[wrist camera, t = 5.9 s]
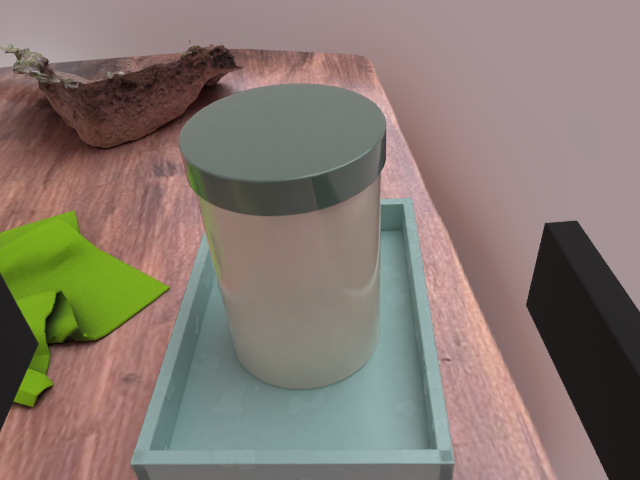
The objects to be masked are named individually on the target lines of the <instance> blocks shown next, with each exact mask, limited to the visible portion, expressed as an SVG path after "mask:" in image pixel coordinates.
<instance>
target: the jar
mask: <svg viewBox="0 0 640 480" xmlns="http://www.w3.org/2000/svg"><path fill="white" fill-rule="evenodd" d="M179 148H180V152H181V156H182V161H183V165H184V169H185V173H186V177H187V181H188V183H189V185H190V187H191V188H192V189H193V190H194V191H195V193H196V196H197V200H198V204H199V208H200V212H201V216H202V221H203V225H204V229H205V233H206V237H207V241H208V245H209V250H210V254H211V258H212V262H213V266H214V270H215V275H216V279H217V283H218V287H219V291H220V295H221V300H222V304H223V308H224V312H225V316H226V320H227V324H228V329H229V333H230V337H231V341H232V345H233V349H234V352H235V355H236V357H237V359H238V360H239V362H240V363H241V365H242V366H243V367H244V368H245V369H246V370H247V371H248V372H249V373H251V374H252V375H253V376H254V377H256V378H258V379H260V380H261V381H263V382H266V383H268V384H270V385H274V386H277V387H281V388H287V389H301V390H302V389H314V388H320V387H325V386H328V385H332V384H334V383H337V382H339V381H342V380H344V379H346V378H347V377H349V376H351V375H352V374H354V373H355V372H357V371H358V370H359V369H360V368H361V367H363V366H364V365H365V364H366V363H367V361H368V360H369V359H370V358H371V356H372V355H373V353H374V351H375V350H376V348H377V345H378V342H379V339H380V332H381V171H382V169H383V167H384V164H385V160H386V120H385V116H384V114H383V113H382V111H381V109H380V108H379V107H378V106H377V105H376V104H375V103H374V102H372V101H371V100H370V99H368V98H366V97H365V96H363V95H361V94H358V93H356V92H353V91H350V90H347V89H343V88H339V87H335V86H328V85H320V84H302V83H301V84H280V85H271V86H265V87H259V88H254V89H250V90H246V91H242V92H239V93H235V94H232V95H230V96H227V97H224V98H222V99H220V100H217V101H215V102H213V103H211V104H209V105H208V106H206V107H204V108H203V109H201V110H200V111H198V112H197V113H196V114H195V115H193V116H192V117H191V118H190V119H189V120H188V121H187V123H186V124H185V125H184V127H183V129H182V130H181V133H180V136H179Z"/></svg>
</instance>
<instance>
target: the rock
mask: <svg viewBox="0 0 640 480" xmlns="http://www.w3.org/2000/svg"><path fill="white" fill-rule="evenodd" d="M0 49H2V50H4V51H5V53H14V54H15V55H16V57H17V59H18V60H17V61H16V63H15V64H14V66H13V73H15V74H25V73H26V74H27V75H29V76H31V77H36V79H37V80H38V81H39V88H40V90H42V91H43V92H44V93H45V95H46V96H47V98H48V100H49V102H50V104H51V106H52V108H53V109H54V110H55V111H56V112H57V113H58V114H59V115H60V116H61V117H62V119H63V120H64V122H65V123H66V124H67V125H68V126H70V127H72V128H74V129H76V131H77V133H78V135H79V137H80V139H81V140H83V141H84V142H85V143H87V144H89V145H91V146H93V147H103V148H109V147H113V146H116V145H119V144H122V143H124V142H127V141H130V140H136V139H139V138H141V137H143V136H145V135H147V134H149V133H151V132H153V131H155V130H156V129H157V128H158V127H160V126H162V125H164V124H166V123H167V122H169V121H171V120H173V119H174V118H176V117H178V116H180V115H182V114H183V113H184V112H185V111H186V109H187V107H188V105H190V104H191V103H192V102H194V101H195V100H196V98H197V97H198V95H199V93H200V91H201V89H202V87H203V86H204V84H205V85H207V86H213V85H214V84H216V83H217V82H218V81H219V80H220V79H221V78H222V77H223V76H224V75H226V74H227V73H229V72H233V71H235V70H239V69H241V68H243V67H244V66H243V67H239V66H236V64H235V62H234V61H233V59H234V56H232V55H231V54H230V52H229V50H228V49H226V48H225V47H224V46H223V45H221V46H216V47H214V46H213V44H211V45H209V47H205V48H200V47H199V46H193V47H190V48H189V49H188V50H187V51H186V52H183V54H182V55H181V58H180V60H178V61H177V62H172V63H168V64H162V63H156V64H154V65H152V66H150V67H146V68H145V69H129V68H128V69H125V70H118V71H116V72H113V73H111V72H109V71H108V72H107V77H105V78H103V79H102V80H94V81H89V80H87V79H84V78H81V77H80V76H78V75H74V74H69V73H67V72H60V71H53V70H52V69H51V67H50V66H49V65H48V62H49V61H48V59H46V58H45V57H43V56H42V55H41V54H39V53H33V52H30V51H29V49H24V50H20V49H18V48H13V45H12V44H9V45H8V48H3V47H0ZM115 62H116V61H115ZM128 63H129V62H128ZM127 65H129V64H127ZM118 66H120V65H118ZM121 66H122V65H121ZM130 66H131V65H130ZM103 70H105V69H103ZM27 75H26V76H27Z"/></svg>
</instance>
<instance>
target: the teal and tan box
mask: <svg viewBox="0 0 640 480" xmlns="http://www.w3.org/2000/svg"><path fill="white" fill-rule="evenodd" d="M130 465H131V467H132V469H133V471H134V473H135V475H136V477H137V479H138V480H452V479H453V472H454V466H455V460H454V454H453V449H452V442H451V436H450V430H449V424H448V418H447V411H446V405H445V399H444V393H443V387H442V380H441V374H440V368H439V362H438V355H437V349H436V343H435V337H434V331H433V324H432V318H431V312H430V306H429V300H428V293H427V287H426V281H425V275H424V268H423V262H422V256H421V250H420V244H419V237H418V231H417V225H416V219H415V213H414V206H413V200H412V198H399V199H381V332H380V339H379V342H378V345H377V348H376V350H375V351H374V353H373V355H372V356H371V358H370V359H369V360H368V361H367V363H366V364H365V365H364V366H363V367H361V368H360V369H359V370H358V371H357V372H355V373H354V374H352V375H351V376H349V377H347V378H346V379H344V380H342V381H339V382H337V383H334V384H332V385H328V386H325V387H320V388H314V389H302V390H301V389H287V388H281V387H277V386H274V385H270V384H268V383H266V382H263V381H261V380H260V379H258V378H256V377H254V376H253V375H252V374H251V373H249V372H248V371H247V370H246V369H245V368H244V367H243V366H242V365H241V363H240V362H239V360H238V359H237V357H236V355H235V352H234V349H233V345H232V341H231V337H230V333H229V329H228V324H227V320H226V316H225V312H224V308H223V304H222V300H221V295H220V291H219V287H218V283H217V279H216V275H215V270H214V266H213V262H212V258H211V254H210V250H209V245H208V241H207V237H206V233H205V231H204V234H203V237H202V241H201V244H200V247H199V250H198V253H197V256H196V259H195V263H194V266H193V269H192V272H191V275H190V278H189V281H188V284H187V288H186V291H185V294H184V297H183V300H182V303H181V306H180V310H179V313H178V316H177V319H176V322H175V325H174V328H173V332H172V335H171V338H170V341H169V344H168V347H167V350H166V353H165V357H164V360H163V363H162V366H161V369H160V372H159V375H158V379H157V382H156V385H155V388H154V391H153V394H152V397H151V401H150V404H149V407H148V410H147V413H146V416H145V419H144V422H143V426H142V429H141V432H140V435H139V438H138V441H137V444H136V448H135V451H134V453H133V456H132V459H131V462H130Z"/></svg>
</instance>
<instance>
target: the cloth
mask: <svg viewBox="0 0 640 480" xmlns="http://www.w3.org/2000/svg"><path fill="white" fill-rule="evenodd" d="M0 273H1V275H2V277H3V279H4V281H5V283H6V284H7V286H8V288H9V290H10V292H11V294H12V295H13V297H14V299H15V301H16V303H17V305H18V306H19V308H20V310H21V312H22V314H23V316H24V317H25V319H26V321H27V323H28V325H29V327H30V328H31V330H32V332H33V334H34V336H35V338H36V339H37V341H38V343H39V345H38V347H37V349H36V351H35V354H34V356H33V358H32V361H31V363H30V365H29V367H28V370H27V372H26V374H25V376H24V379H23V381H22V383H21V385H20V388H19V390H18V392H17V394H16V397H15V399H14V402H17V403H20V404H24V405H27V406H31V407H33V406H34V404H35V402H36V400H37V398H38V396H39V394H40V393H41V392H42V391H43V390H44V389H46V388H49V387H51V386H53V385H54V384H53V383H52V382H51V380H50V379H49V378H48V377H47V376H46V373H47V370H48V367H49V361H50V355H51V354H50V351H49V348H48V345H47V343H63V342H67V341H70V340H76V341H89V340H97V339H99V338H101V337H103V336H105V335H107V334H109V333H110V332H112V331H113V330H114V329H116V328H117V327H119V326H120V325H121V324H123V323H124V322H126V321H127V320H128V319H130V318H131V317H132V316H134V315H135V314H136V313H138V312H139V311H141V310H142V309H143V308H145V307H146V306H147V305H149V304H150V303H152V302H153V301H154V300H155V299H157V298H158V297H159V296H160V295H162V294H163V293H165V292H166V291H167V290H169V289H170V287H168V286H166V285H164V284H163V283H161V282H159V281H158V280H156V279H154V278H152V277H150V276H148V275H146V274H145V273H143V272H141V271H139V270H137V269H135V268H133V267H131V266H130V265H128V264H126V263H124V262H122V261H120V260H118V259H116V258H114V257H113V256H111V255H109V254H107V253H105V252H103V251H101V250H99V249H97V248H96V247H95V246H94V245H93V244H91V243H90V242H89V241H88V240H86V239H85V238H84V237H83V236H82V235H81V234H80V233H79V227H78V222H77V218H76V214H75V211H71V212H68V213H64V214H61V215H57V216H54V217H50V218H47V219H44V220H40V221H37V222H34V223H30V224H27V225H24V226H21V227H17V228H14V229H11V230H7V231H4V232H1V233H0Z"/></svg>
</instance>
